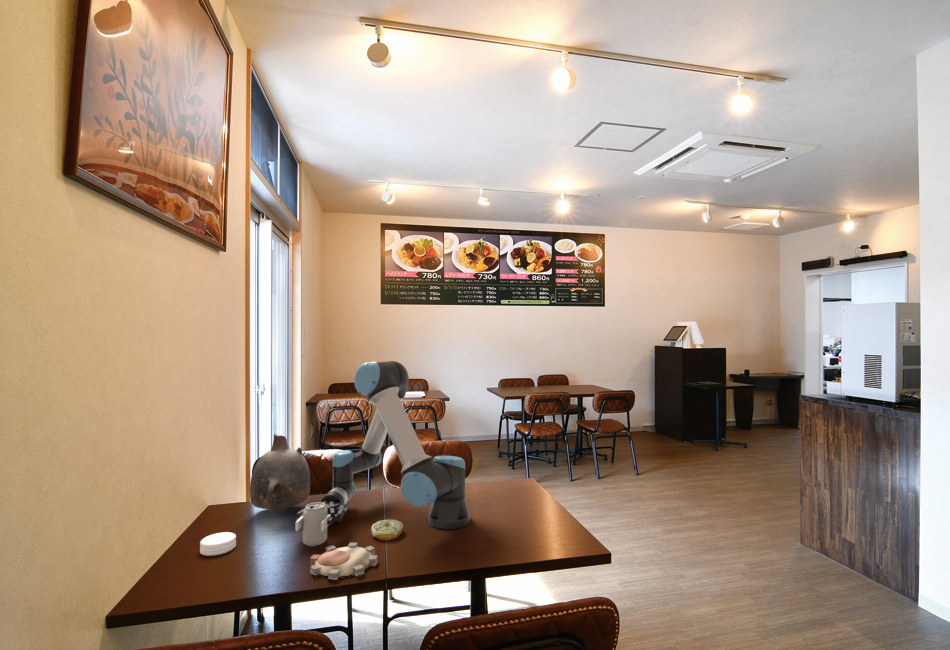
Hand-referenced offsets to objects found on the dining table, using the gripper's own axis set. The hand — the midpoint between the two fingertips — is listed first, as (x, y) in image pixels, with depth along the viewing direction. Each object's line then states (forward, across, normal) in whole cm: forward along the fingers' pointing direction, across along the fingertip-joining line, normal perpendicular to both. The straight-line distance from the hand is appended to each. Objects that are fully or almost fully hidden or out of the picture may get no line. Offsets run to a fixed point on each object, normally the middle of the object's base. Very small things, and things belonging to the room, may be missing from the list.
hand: (309, 526), depth 143 cm
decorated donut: (-12, -22, -8) cm, 26 cm away
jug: (-32, +24, -7) cm, 41 cm away
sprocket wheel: (+9, -14, -7) cm, 18 cm away
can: (-5, 0, -7) cm, 9 cm away
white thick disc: (0, +29, -8) cm, 30 cm away
